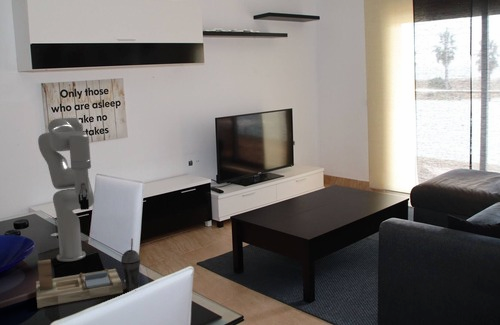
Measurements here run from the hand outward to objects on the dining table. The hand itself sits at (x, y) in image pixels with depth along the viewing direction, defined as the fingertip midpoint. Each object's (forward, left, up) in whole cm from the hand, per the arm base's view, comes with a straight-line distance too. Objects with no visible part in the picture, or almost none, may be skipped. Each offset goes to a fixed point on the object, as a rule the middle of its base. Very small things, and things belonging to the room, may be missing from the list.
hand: (83, 206), depth 209 cm
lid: (+18, +1, -26) cm, 32 cm away
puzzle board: (+15, -5, -30) cm, 33 cm away
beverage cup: (+22, +14, -30) cm, 39 cm away
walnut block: (+15, -17, -26) cm, 34 cm away
